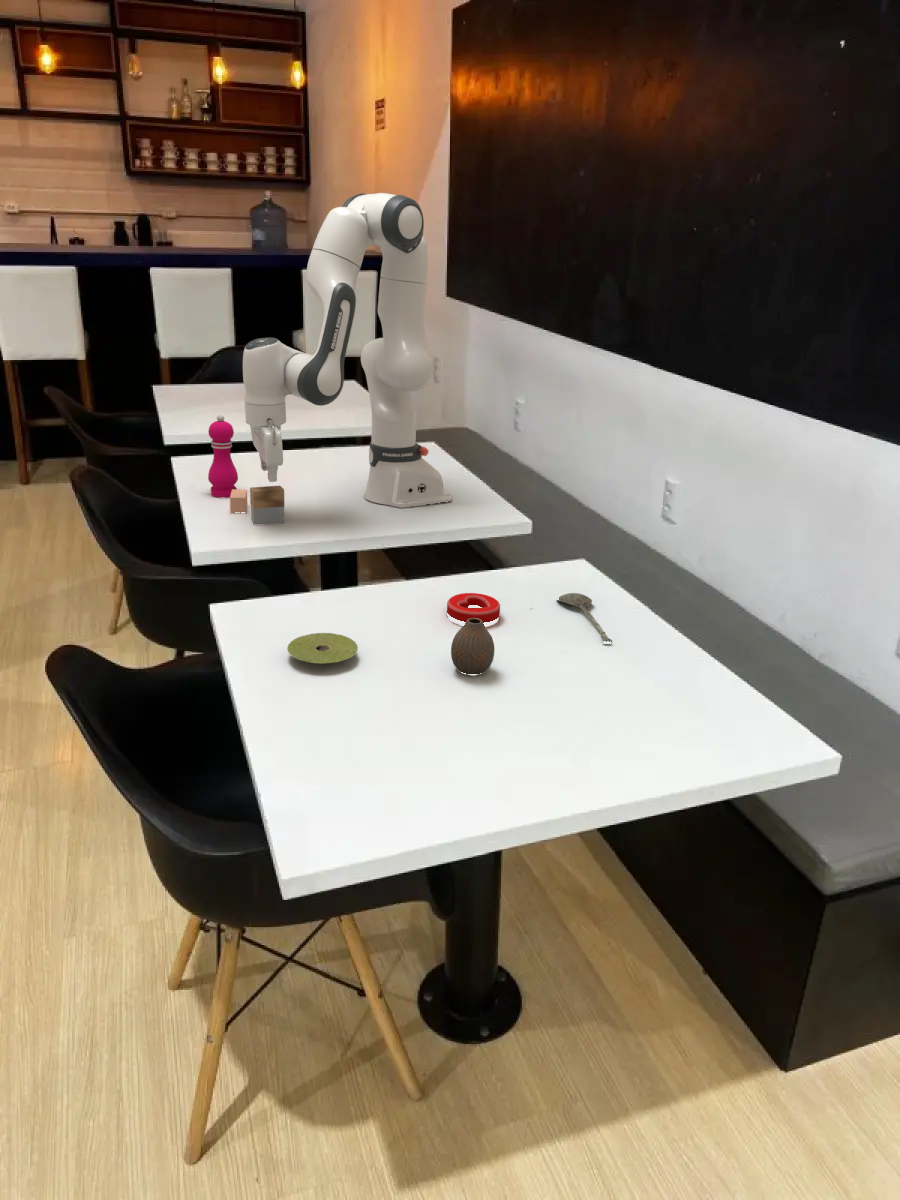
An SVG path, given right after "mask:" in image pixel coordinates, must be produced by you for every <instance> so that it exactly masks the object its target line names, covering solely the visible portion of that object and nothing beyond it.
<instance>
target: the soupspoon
mask: <svg viewBox="0 0 900 1200" xmlns="http://www.w3.org/2000/svg"><path fill="white" fill-rule="evenodd" d="M558 597H559V602H562V603H564V604H568V605H570V606H573V607H575V608H578V609H580V610H581V611H582V612H583V613H584V614H585V615H586V616H587V617H588V618H589V620H590V621H591V622H592V623H593V625H594V626H595V627H596V628H597V630H598V631H599V633H600V634H601V635H602V636H601V635H600V634H599V635H600V636H601V638H603V639H602V642H603V641H606V642H607V641H609V642H610V641H612V642H613V640H612V639H611V638H609V637H608V636H607V634H606V632H605V631H604V629H603V627H602V626H601V625H600V624H599V623H598V620H596V619H595V618H594V616H593V615H592V614H591V612H590V611H589V610H588V609H587V607H589V606H590V605H592V602H593V599H592V598H590V597H589V596H587V595H585V594H583V593H577V592H570V593H569V592H568V593H565V594H562V595H560V596H558ZM585 607H586V608H585Z"/></svg>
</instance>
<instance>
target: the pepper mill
mask: <svg viewBox="0 0 900 1200" xmlns="http://www.w3.org/2000/svg"><path fill="white" fill-rule="evenodd" d="M234 433H235V430H234V427H233V425H232V424H231V423H230V422H228V421H225V416H224V415H223V414H218V415H217V416H216V421H213V422H212V423H211V424H210V425H209V427H208V436H209V437H210V439H211V441H210V442H211V448H212V449H213V459H212V462H211V465H210V467H209V470H208V474H207V475H208V476H207V477H208V479H207V480H208V482H209V483H210V484H211V485H212V486H211V487H210V494H211V495H210V496H212V497H214V496H215V498H220V497H226V498H230V496H231V492H232V489H237V487H236V486H235V485H236V483H237V482H238V480H239V476H238V475H239V474H238V471H237V469H236V466H235V464H234V462H233V459H232V457H231V455H232V454H231V448H232V447H233V444H232V443H233V441H232V438H233V437H234Z"/></svg>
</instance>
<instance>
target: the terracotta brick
mask: <svg viewBox="0 0 900 1200" xmlns="http://www.w3.org/2000/svg"><path fill="white" fill-rule="evenodd" d="M229 507H230V514H236V513H235V512H240V513H241V512H246V513H247V510H246V508H248V489H237V488H236V489H232V492H231V496H230V497H229Z"/></svg>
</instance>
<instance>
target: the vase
mask: <svg viewBox="0 0 900 1200" xmlns="http://www.w3.org/2000/svg"><path fill="white" fill-rule="evenodd" d="M450 656H451V661H452V664H453V666H454V667H455V669H456V670H457V671H458V670H459V671H460V672H459V671H458V672H459V673H461V672H463V673H466V674H480V673H482V674H484V673H485V672H486V671H487V670H488V669H489V668H490V667H491V666H492V664H493V661H494V658H495V642H494V640H493V636H492V634H491V633H490V632H489V630H488V629H487V627H485V626H484V624H483V622H482V620H481V619H478V618H470V619H468V620H467V622H466V623H465V625H464V626H461V628H460V629H459V630H458V631H457V632H456V633H455V635H454V636H453V640H452V642H451V646H450ZM483 672H484V673H483Z"/></svg>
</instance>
